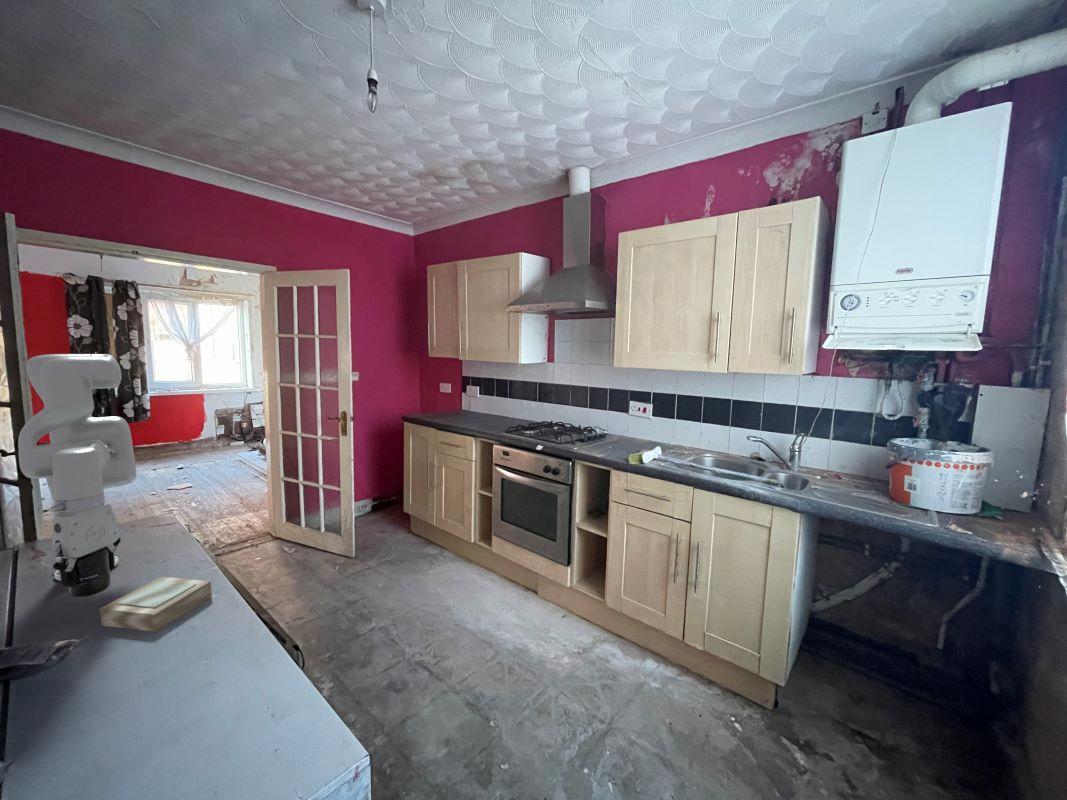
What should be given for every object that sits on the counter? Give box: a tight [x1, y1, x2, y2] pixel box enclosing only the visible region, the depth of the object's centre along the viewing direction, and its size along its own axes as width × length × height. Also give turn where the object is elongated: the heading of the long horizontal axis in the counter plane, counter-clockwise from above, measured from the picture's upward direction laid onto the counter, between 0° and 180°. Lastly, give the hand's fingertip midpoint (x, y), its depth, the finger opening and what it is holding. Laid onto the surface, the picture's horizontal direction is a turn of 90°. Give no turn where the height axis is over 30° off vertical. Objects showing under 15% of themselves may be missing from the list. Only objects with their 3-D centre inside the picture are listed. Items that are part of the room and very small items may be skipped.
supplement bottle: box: [67, 548, 112, 598], centre depth 101 cm, size 7×7×12 cm
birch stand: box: [99, 576, 213, 633], centre depth 104 cm, size 14×14×4 cm
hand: (89, 576), depth 102 cm, fingers closed on supplement bottle, 6 cm apart
